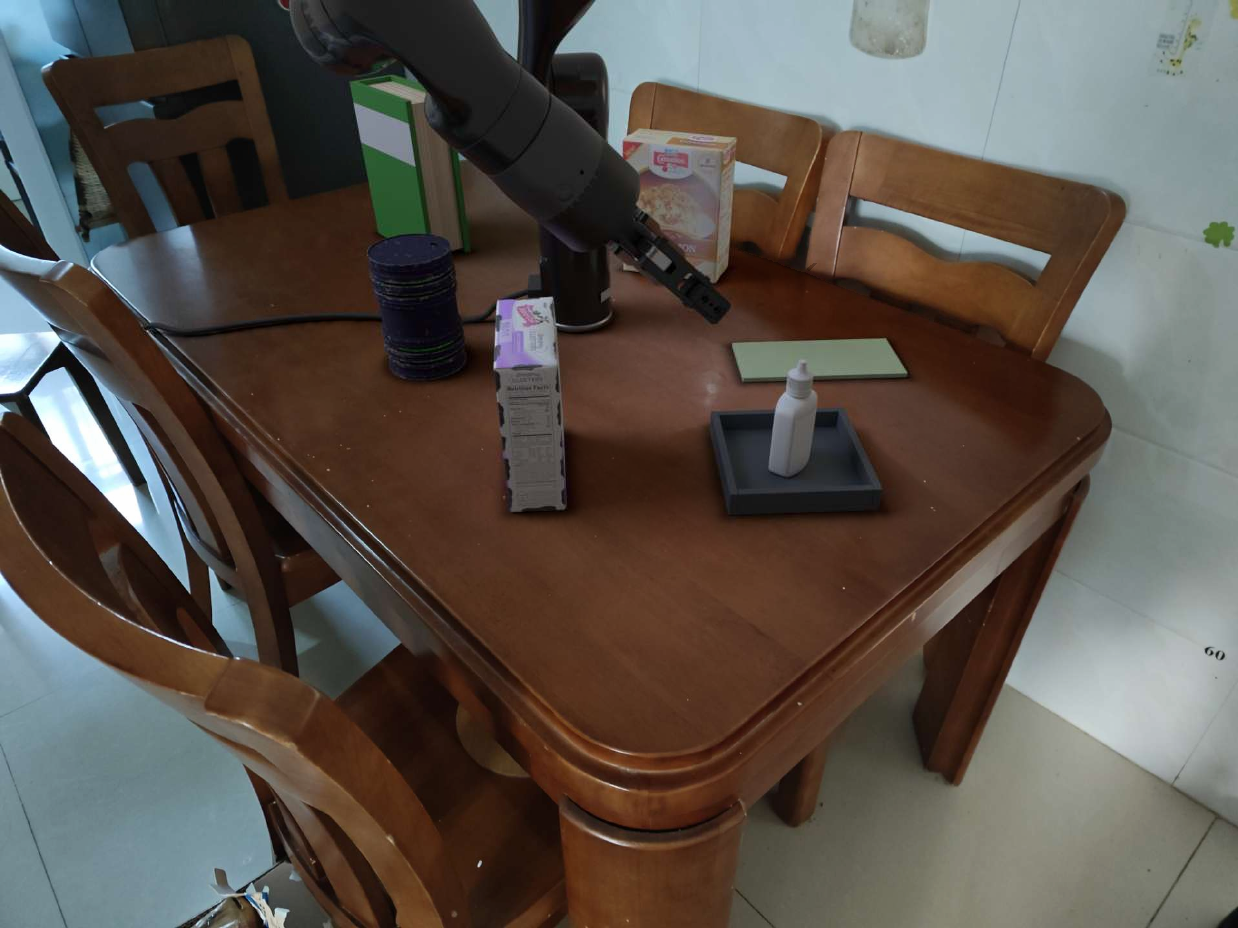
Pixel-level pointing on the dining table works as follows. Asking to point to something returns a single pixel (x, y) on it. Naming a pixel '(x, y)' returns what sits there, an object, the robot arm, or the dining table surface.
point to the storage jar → (418, 305)
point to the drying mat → (818, 359)
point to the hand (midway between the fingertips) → (698, 294)
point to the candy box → (530, 404)
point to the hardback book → (408, 162)
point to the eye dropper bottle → (794, 423)
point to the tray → (821, 486)
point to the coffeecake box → (687, 191)
